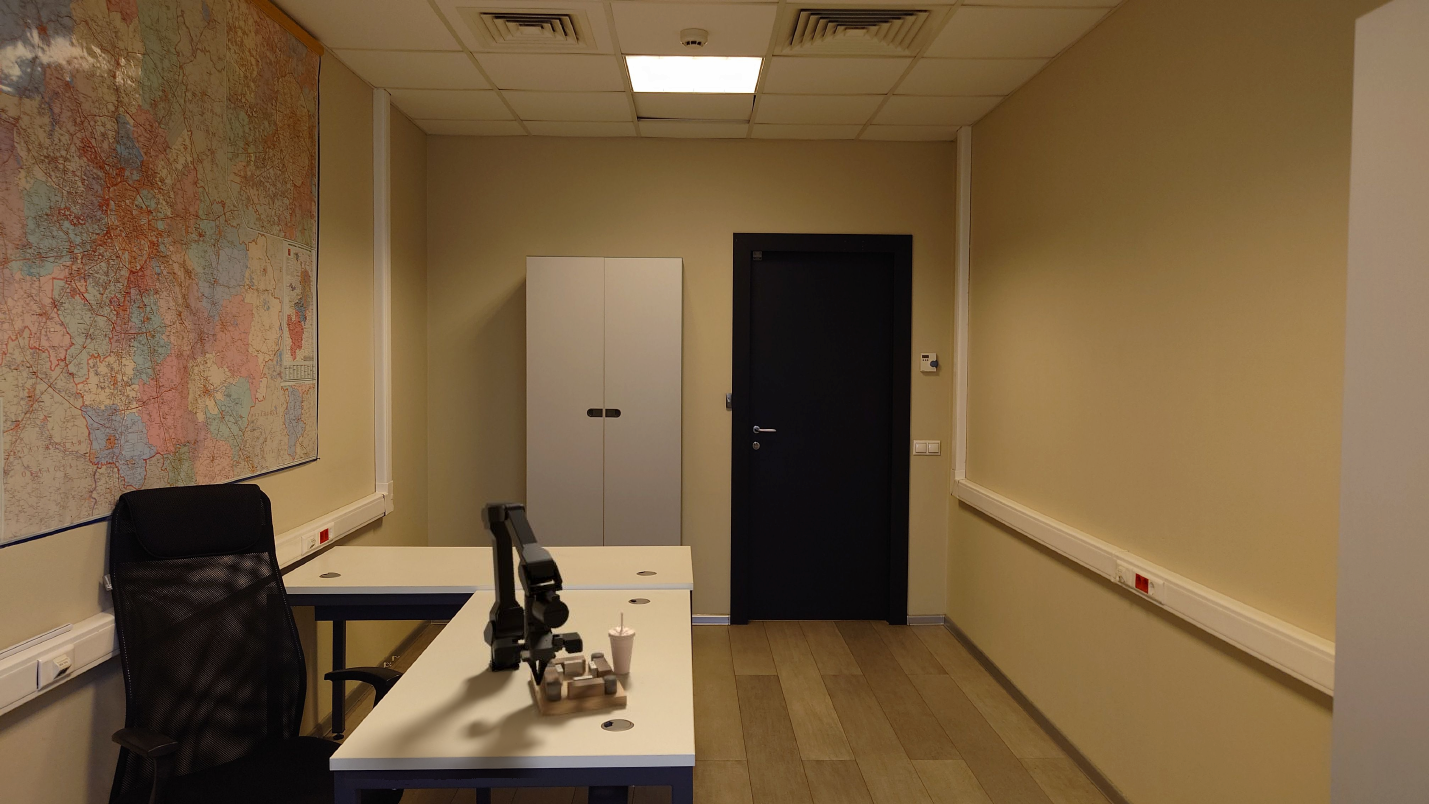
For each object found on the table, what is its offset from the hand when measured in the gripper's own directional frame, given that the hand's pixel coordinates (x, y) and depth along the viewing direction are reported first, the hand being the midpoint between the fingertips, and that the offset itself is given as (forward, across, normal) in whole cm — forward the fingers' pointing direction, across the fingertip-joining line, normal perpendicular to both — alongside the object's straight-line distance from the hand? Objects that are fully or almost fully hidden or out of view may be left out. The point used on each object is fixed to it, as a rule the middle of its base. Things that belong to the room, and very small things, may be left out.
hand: (538, 684), depth 171 cm
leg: (+1, +3, -1) cm, 3 cm away
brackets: (+1, +9, +1) cm, 9 cm away
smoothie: (+3, +21, +9) cm, 23 cm away
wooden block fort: (+3, +9, +1) cm, 9 cm away
